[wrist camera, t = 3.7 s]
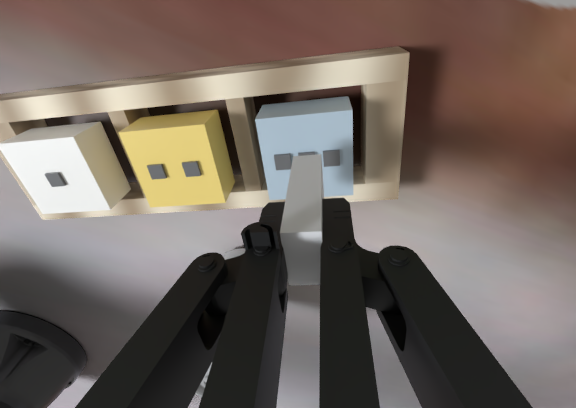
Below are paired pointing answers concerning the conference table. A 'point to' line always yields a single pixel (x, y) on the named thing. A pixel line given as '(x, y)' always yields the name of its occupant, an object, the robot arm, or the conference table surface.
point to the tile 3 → (307, 142)
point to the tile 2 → (180, 158)
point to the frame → (237, 117)
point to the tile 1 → (67, 167)
